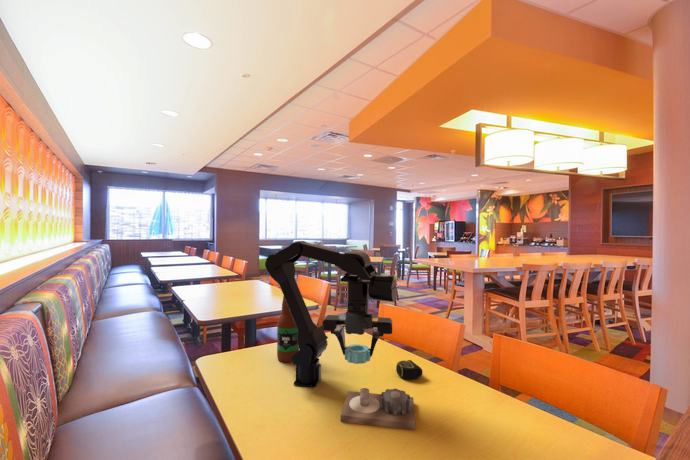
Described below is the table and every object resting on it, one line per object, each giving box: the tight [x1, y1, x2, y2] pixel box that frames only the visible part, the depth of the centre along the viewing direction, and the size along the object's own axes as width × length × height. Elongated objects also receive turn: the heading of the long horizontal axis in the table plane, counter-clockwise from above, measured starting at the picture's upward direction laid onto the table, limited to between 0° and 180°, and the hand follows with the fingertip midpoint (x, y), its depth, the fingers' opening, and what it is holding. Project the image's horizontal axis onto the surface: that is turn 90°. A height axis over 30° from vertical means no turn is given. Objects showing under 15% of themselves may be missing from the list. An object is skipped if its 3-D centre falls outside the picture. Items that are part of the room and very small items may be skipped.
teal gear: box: [344, 343, 371, 365], centre depth 88 cm, size 7×7×3 cm
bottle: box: [276, 295, 299, 363], centre depth 109 cm, size 7×7×25 cm
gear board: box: [340, 387, 416, 431], centre depth 79 cm, size 17×11×5 cm, turn 80°
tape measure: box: [395, 359, 423, 380], centre depth 98 cm, size 7×7×4 cm
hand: (357, 355), depth 88 cm, fingers closed on teal gear, 7 cm apart
